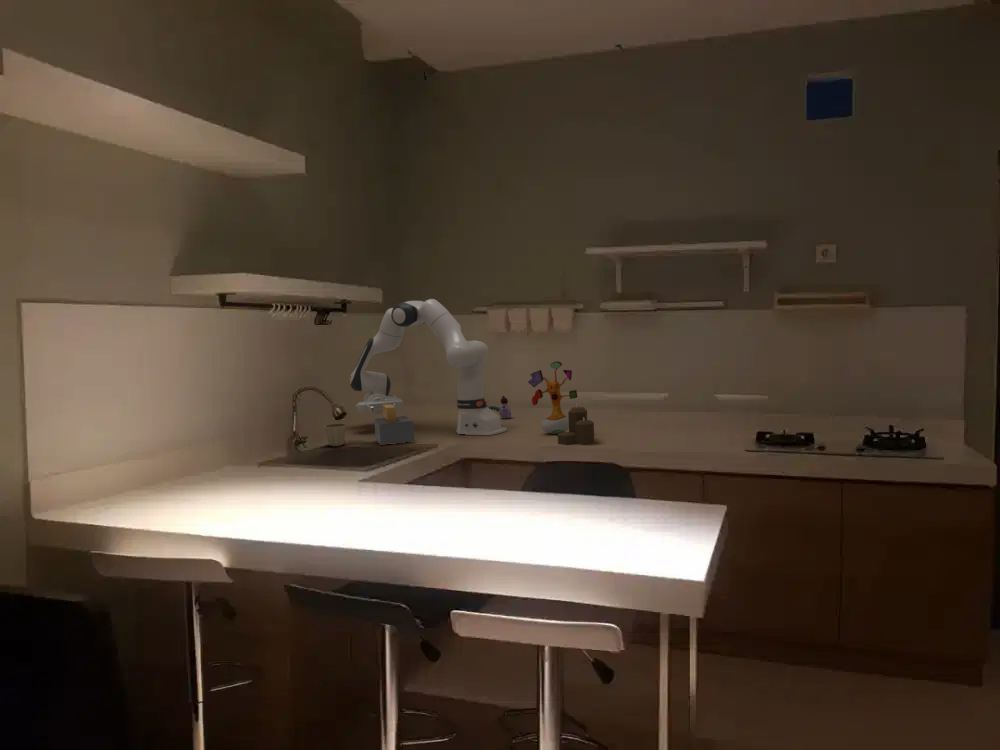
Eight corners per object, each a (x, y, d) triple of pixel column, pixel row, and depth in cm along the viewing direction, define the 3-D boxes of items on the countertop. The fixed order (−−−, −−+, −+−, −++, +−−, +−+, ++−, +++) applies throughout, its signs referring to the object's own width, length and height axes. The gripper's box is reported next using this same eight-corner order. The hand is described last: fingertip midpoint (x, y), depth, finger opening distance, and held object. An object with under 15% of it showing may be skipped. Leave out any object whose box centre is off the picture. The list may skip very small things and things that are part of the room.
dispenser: (375, 441, 353) (374, 418, 352) (408, 437, 358) (406, 414, 357) (380, 446, 342) (379, 422, 341) (414, 442, 346) (412, 418, 345)
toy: (503, 432, 390) (517, 403, 388) (475, 419, 389) (488, 390, 388) (504, 428, 400) (517, 400, 399) (476, 415, 400) (489, 387, 398)
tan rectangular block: (384, 437, 362) (382, 405, 361) (392, 436, 363) (390, 404, 362) (389, 440, 353) (386, 407, 351) (397, 440, 354) (395, 407, 352)
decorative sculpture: (529, 435, 347) (525, 363, 344) (532, 432, 355) (529, 361, 352) (577, 435, 342) (573, 362, 339) (579, 431, 350) (576, 360, 347)
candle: (563, 438, 338) (561, 401, 337) (597, 438, 335) (595, 400, 333) (557, 445, 325) (555, 406, 324) (592, 445, 322) (590, 406, 320)
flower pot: (335, 442, 355) (334, 422, 354) (353, 444, 350) (351, 423, 349) (320, 447, 347) (318, 426, 346) (337, 448, 342) (336, 427, 341)
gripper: (353, 398, 378) (358, 402, 365) (398, 395, 384) (405, 399, 371) (354, 412, 378) (359, 417, 365) (399, 408, 385) (405, 413, 372)
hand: (382, 408), depth 368 cm, fingers open, 8 cm apart
